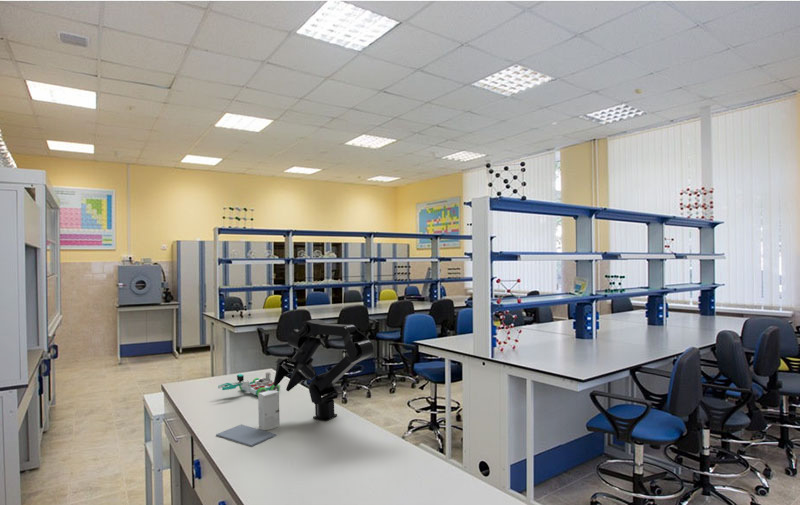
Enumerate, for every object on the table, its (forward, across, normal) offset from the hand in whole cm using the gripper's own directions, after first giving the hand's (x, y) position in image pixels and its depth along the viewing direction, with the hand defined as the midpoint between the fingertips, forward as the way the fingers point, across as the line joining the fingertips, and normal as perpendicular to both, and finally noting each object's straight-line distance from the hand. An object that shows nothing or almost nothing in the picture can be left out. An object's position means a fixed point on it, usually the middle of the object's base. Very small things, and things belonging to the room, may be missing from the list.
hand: (280, 388), depth 158 cm
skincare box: (+12, 0, -6) cm, 14 cm away
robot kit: (+4, +43, -15) cm, 46 cm away
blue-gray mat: (+18, -1, +1) cm, 18 cm away
